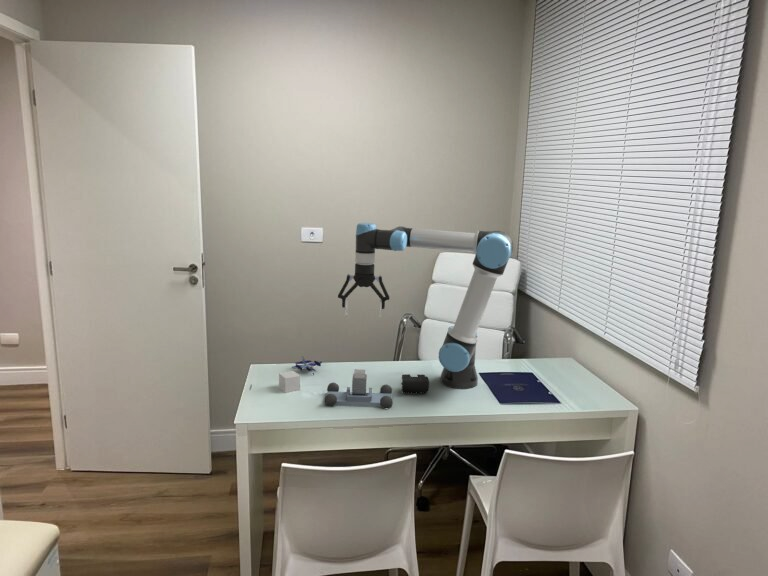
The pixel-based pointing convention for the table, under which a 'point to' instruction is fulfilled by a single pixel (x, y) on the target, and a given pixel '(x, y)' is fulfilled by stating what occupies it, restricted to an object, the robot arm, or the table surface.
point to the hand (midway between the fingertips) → (363, 316)
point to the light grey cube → (289, 381)
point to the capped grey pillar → (359, 382)
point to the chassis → (358, 397)
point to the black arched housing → (415, 384)
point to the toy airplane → (307, 365)
